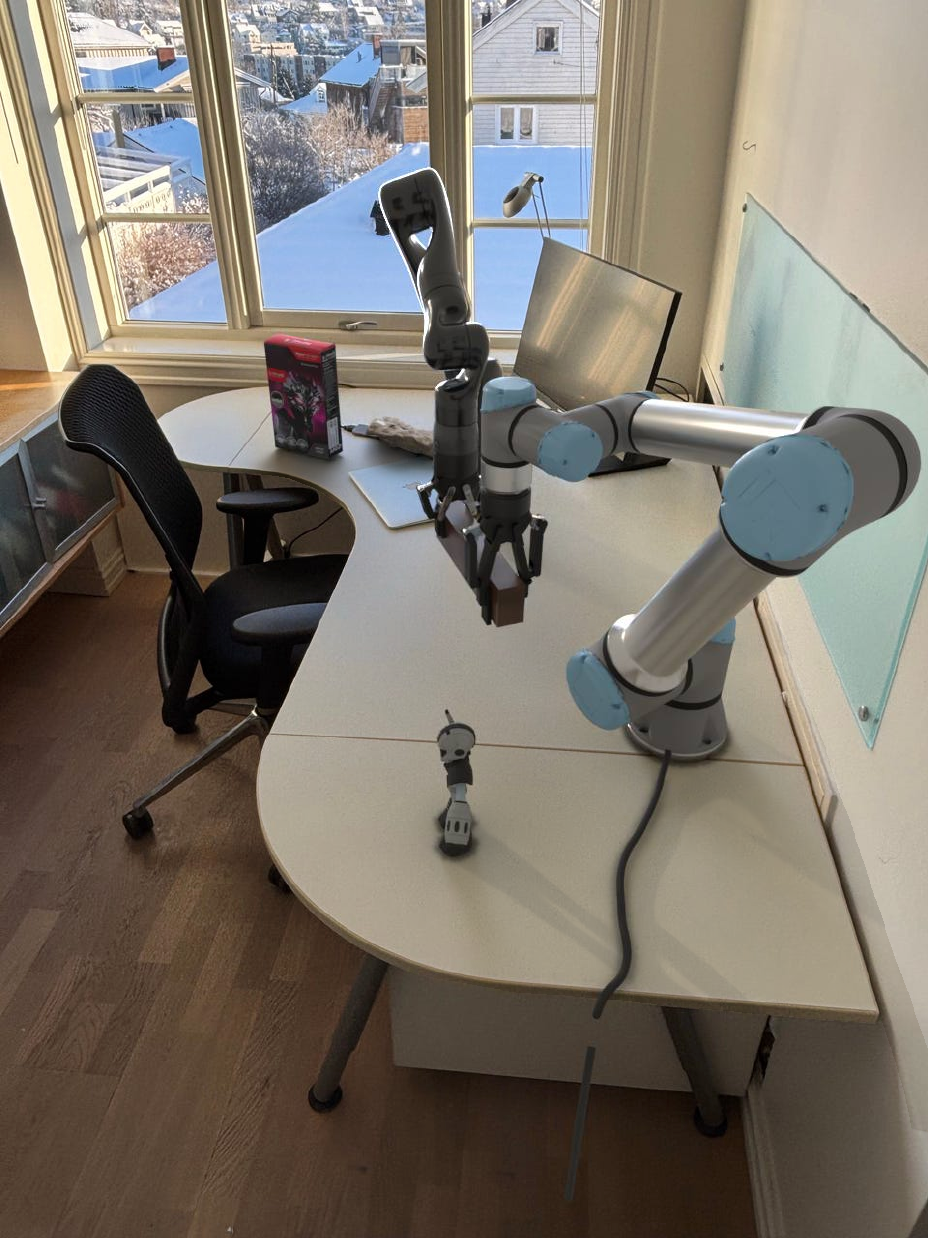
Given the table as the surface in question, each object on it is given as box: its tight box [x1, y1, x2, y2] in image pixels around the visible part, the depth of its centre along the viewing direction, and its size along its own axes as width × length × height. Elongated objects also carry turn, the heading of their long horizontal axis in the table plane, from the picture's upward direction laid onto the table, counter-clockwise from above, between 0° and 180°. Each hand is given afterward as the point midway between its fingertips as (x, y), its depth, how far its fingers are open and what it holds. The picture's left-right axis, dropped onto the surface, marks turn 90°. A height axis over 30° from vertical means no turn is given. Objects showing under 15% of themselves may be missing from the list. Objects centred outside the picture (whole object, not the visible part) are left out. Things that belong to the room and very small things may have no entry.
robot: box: [436, 708, 477, 857], centre depth 119 cm, size 20×5×20 cm, turn 3°
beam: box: [435, 500, 526, 628], centre depth 154 cm, size 30×4×7 cm, turn 20°
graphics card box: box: [263, 333, 344, 460], centre depth 223 cm, size 17×7×27 cm, turn 62°
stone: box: [365, 416, 433, 458], centre depth 231 cm, size 21×15×6 cm
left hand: (455, 533), depth 163 cm, fingers closed on beam, 4 cm apart
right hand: (501, 617), depth 148 cm, fingers closed on beam, 4 cm apart
